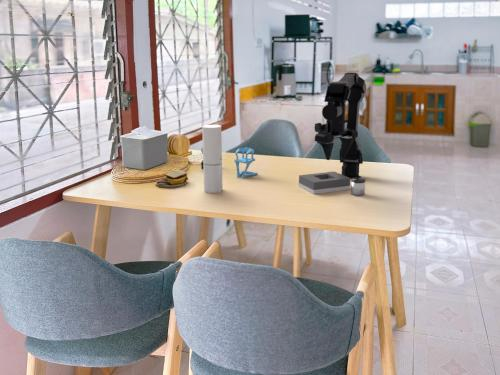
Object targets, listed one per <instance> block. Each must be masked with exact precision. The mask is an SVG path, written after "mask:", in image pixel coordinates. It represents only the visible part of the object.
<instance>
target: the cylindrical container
mask: <svg viewBox="0 0 500 375" xmlns="http://www.w3.org/2000/svg"><path fill="white" fill-rule="evenodd" d="M201 129H202V130H201V131H202V147H203V154H202V158H203V169H202V170H203V191H204V192H205V193H207V194H208V193H209V194H216V193H220V192H223V149H222V148H223V147H222V146H223V145H222V144H223V142H222V140H223V139H222V138H223V137H222V125H220V124H204V125H202V127H201Z"/></svg>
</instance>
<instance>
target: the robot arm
mask: <svg viewBox="0 0 500 375" xmlns="http://www.w3.org/2000/svg"><path fill="white" fill-rule="evenodd" d="M366 92H367V83H366V80H364V78H362V77H360V75H359V73H357V72H345V73H344V75H343V76H342V77H341V78H340V79H339V80H337V81H331V82H330V83H329V84H328V85H327V88H326V92H325V96H324V101H323V102H325V103H327V104H325V105H324V107H323V108H322V110H321V115H322V118H324V119H325V120H326V123H323V124H322V123H321V122H316V123H315V124H314V132H315V133H316V134H315V135H314V142H317V144H319V145H320V146H321V148H322V149H323V154H324V156H325V160H327V161H330V158H331V155H332V153H333V148H334V141H335V140H334V139H339V140H340V142H341V144H340V149H339V163H340V164H341V163H342V166H341V174H342V175H344V176H346V177H349V178H350V180H352V178H355V177H360V178H362V176H361V175H360V165H362V164H364V163H363V162H364V157H363V153H362V150H361V145H360V142H359V141H358V138H359V132H358V130H359V129H358V128H359V116H360V114H359V113H360V104H361V103H362V101H363V99H364V98H365V94H366ZM346 103H347V104H348V105H347V106H346ZM346 107H347V115H346ZM346 116H347V118H346Z"/></svg>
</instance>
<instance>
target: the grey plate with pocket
mask: <svg viewBox="0 0 500 375" xmlns="http://www.w3.org/2000/svg"><path fill="white" fill-rule="evenodd" d="M298 187H299V188H301V189H303V190H304V191H307V192H308V193H311V194H313V195H315V194H326V193H333V192H339V191H341V192H342V191H348V190H349V191H351V179H350V178H349V177H346V176H344V175H342V173H339V172H337V171H325V172H318V173H317V172H316V173H309V174H308V173H307V174H300V175H298Z"/></svg>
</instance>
